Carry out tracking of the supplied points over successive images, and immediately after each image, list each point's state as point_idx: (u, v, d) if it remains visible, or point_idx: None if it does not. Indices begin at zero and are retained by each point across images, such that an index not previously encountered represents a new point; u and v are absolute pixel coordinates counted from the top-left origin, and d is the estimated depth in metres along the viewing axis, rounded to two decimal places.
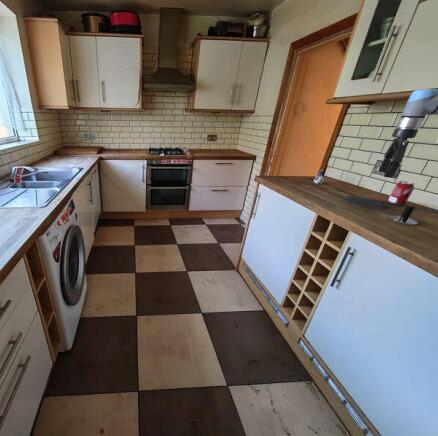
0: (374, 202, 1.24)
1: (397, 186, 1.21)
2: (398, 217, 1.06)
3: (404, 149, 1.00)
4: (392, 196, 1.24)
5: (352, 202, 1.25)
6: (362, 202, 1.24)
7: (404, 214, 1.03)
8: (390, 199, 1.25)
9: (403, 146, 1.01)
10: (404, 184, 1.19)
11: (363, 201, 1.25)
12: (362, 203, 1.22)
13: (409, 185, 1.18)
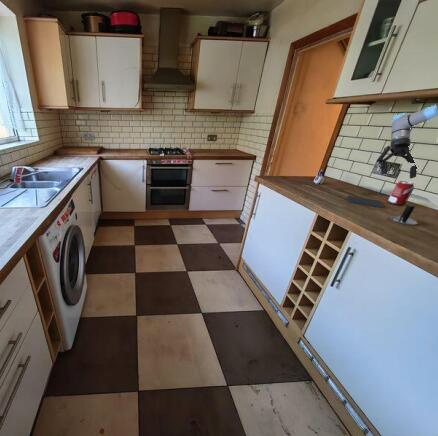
0: (374, 202, 1.24)
1: (397, 186, 1.21)
2: (398, 217, 1.06)
3: (384, 151, 1.28)
4: (392, 196, 1.24)
5: (352, 202, 1.25)
6: (362, 202, 1.24)
7: (404, 214, 1.03)
8: (390, 199, 1.25)
9: (385, 150, 1.28)
10: (404, 184, 1.19)
11: (363, 201, 1.25)
12: (362, 203, 1.22)
13: (409, 185, 1.18)
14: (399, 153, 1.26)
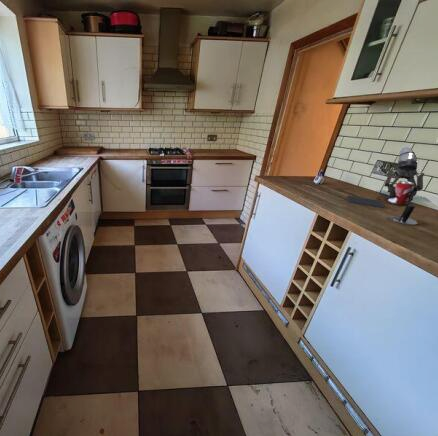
0: (374, 202, 1.24)
1: (397, 186, 1.21)
2: (398, 217, 1.06)
3: (389, 175, 1.27)
4: None
5: (352, 202, 1.25)
6: (362, 202, 1.24)
7: (404, 214, 1.03)
8: (390, 199, 1.25)
9: (389, 174, 1.27)
10: (404, 184, 1.19)
11: (363, 201, 1.25)
12: (362, 203, 1.22)
13: (409, 185, 1.18)
14: (403, 175, 1.24)
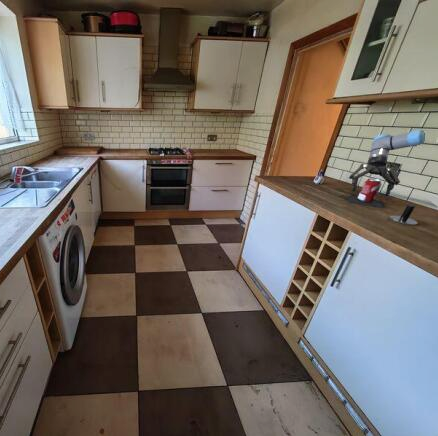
0: (374, 202, 1.24)
1: (365, 183, 1.22)
2: (398, 217, 1.06)
3: (357, 169, 1.28)
4: (361, 193, 1.25)
5: (352, 202, 1.25)
6: (362, 202, 1.24)
7: (404, 214, 1.03)
8: (359, 196, 1.26)
9: None
10: (372, 181, 1.20)
11: None
12: (362, 203, 1.22)
13: (376, 182, 1.19)
14: (373, 171, 1.24)
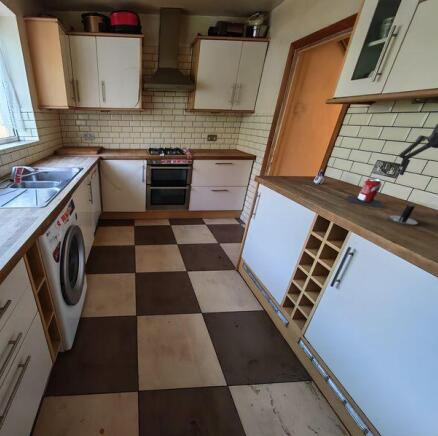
0: (374, 202, 1.24)
1: (365, 183, 1.22)
2: (398, 217, 1.06)
3: (413, 144, 0.95)
4: (361, 193, 1.25)
5: (352, 202, 1.25)
6: (362, 202, 1.24)
7: (404, 214, 1.03)
8: (359, 196, 1.26)
9: (416, 141, 0.95)
10: (372, 181, 1.20)
11: None
12: (362, 203, 1.22)
13: (376, 182, 1.19)
14: (437, 146, 0.91)
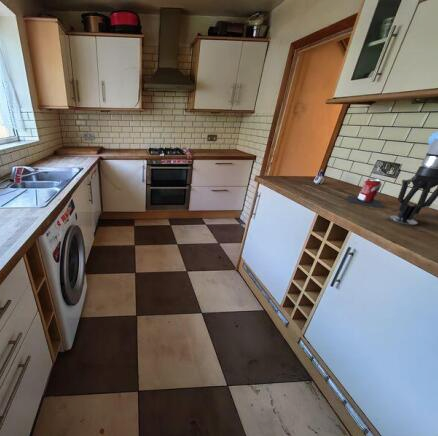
0: (374, 202, 1.24)
1: (365, 183, 1.22)
2: (398, 217, 1.06)
3: (402, 189, 1.00)
4: (361, 193, 1.25)
5: (352, 202, 1.25)
6: (362, 202, 1.24)
7: (404, 214, 1.03)
8: (359, 196, 1.26)
9: (403, 185, 1.00)
10: (372, 181, 1.20)
11: None
12: (362, 203, 1.22)
13: (376, 182, 1.19)
14: (419, 187, 0.97)
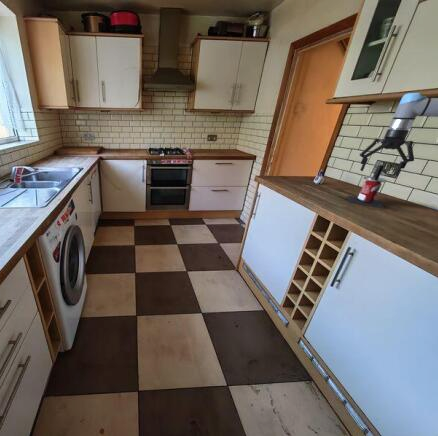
0: (374, 202, 1.24)
1: (365, 183, 1.22)
2: (371, 177, 1.23)
3: (370, 145, 1.17)
4: (361, 193, 1.25)
5: (352, 202, 1.25)
6: (362, 202, 1.24)
7: (375, 173, 1.19)
8: (359, 196, 1.26)
9: (373, 143, 1.16)
10: (372, 181, 1.20)
11: None
12: (362, 203, 1.22)
13: (376, 182, 1.19)
14: (388, 147, 1.13)
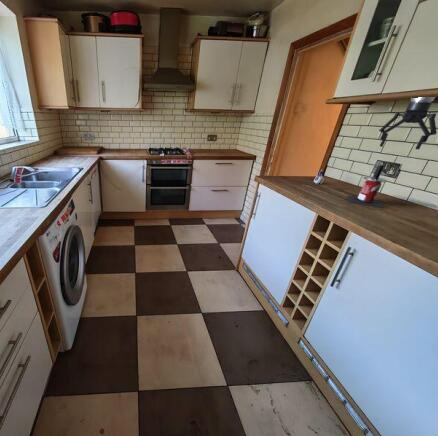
0: (374, 202, 1.24)
1: (365, 183, 1.22)
2: (371, 177, 1.23)
3: (390, 120, 1.16)
4: (361, 193, 1.25)
5: (352, 202, 1.25)
6: (362, 202, 1.24)
7: (375, 173, 1.19)
8: (359, 196, 1.26)
9: (393, 117, 1.15)
10: (372, 181, 1.20)
11: None
12: (362, 203, 1.22)
13: (376, 182, 1.19)
14: (409, 121, 1.12)
